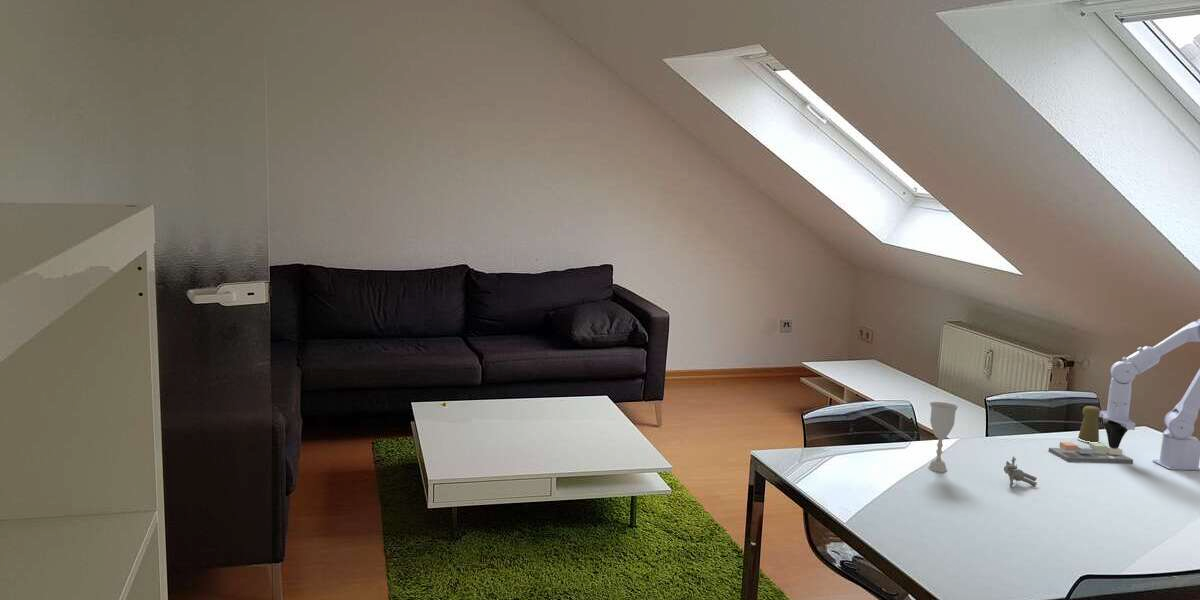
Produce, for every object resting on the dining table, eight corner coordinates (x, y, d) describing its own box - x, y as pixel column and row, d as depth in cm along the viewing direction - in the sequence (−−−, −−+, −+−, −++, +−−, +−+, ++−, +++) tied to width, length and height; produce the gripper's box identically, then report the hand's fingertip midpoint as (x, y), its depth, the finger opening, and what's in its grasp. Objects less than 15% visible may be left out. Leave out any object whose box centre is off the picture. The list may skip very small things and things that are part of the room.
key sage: (1100, 448, 287) (1100, 443, 287) (1106, 451, 284) (1107, 446, 283) (1089, 448, 287) (1089, 442, 287) (1095, 451, 283) (1096, 446, 283)
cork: (1102, 443, 301) (1106, 409, 299) (1083, 442, 301) (1087, 408, 299) (1093, 438, 307) (1097, 404, 305) (1074, 437, 307) (1078, 403, 305)
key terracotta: (1070, 447, 286) (1071, 442, 286) (1076, 450, 283) (1077, 445, 283) (1059, 447, 286) (1060, 441, 286) (1065, 450, 283) (1066, 445, 283)
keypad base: (1112, 452, 291) (1113, 448, 291) (1132, 462, 281) (1133, 458, 281) (1048, 450, 290) (1048, 447, 289) (1066, 461, 280) (1067, 457, 280)
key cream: (1114, 451, 287) (1115, 446, 287) (1121, 454, 284) (1122, 449, 284) (1103, 451, 287) (1104, 445, 287) (1110, 454, 284) (1111, 449, 284)
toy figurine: (1041, 493, 250) (1008, 478, 250) (1027, 503, 254) (995, 488, 255) (1042, 462, 256) (1011, 448, 256) (1029, 472, 261) (998, 458, 261)
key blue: (1085, 450, 287) (1085, 445, 287) (1091, 453, 283) (1092, 448, 283) (1074, 450, 287) (1074, 445, 286) (1080, 453, 283) (1081, 448, 283)
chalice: (921, 469, 265) (927, 405, 262) (925, 463, 271) (931, 400, 268) (949, 474, 261) (956, 409, 259) (953, 468, 267) (959, 404, 265)
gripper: (1091, 396, 290) (1086, 439, 292) (1120, 408, 276) (1115, 454, 278) (1114, 396, 291) (1109, 440, 293) (1144, 408, 277) (1138, 454, 278)
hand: (1113, 447), depth 285 cm, fingers closed
